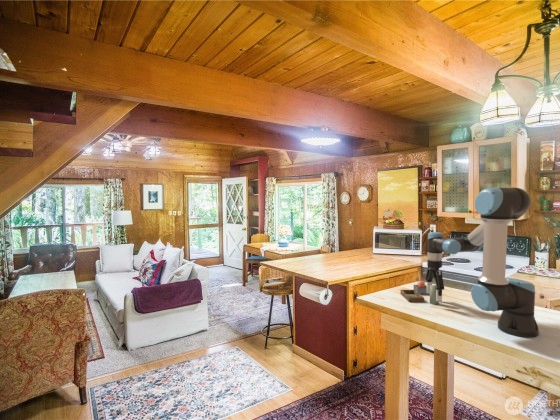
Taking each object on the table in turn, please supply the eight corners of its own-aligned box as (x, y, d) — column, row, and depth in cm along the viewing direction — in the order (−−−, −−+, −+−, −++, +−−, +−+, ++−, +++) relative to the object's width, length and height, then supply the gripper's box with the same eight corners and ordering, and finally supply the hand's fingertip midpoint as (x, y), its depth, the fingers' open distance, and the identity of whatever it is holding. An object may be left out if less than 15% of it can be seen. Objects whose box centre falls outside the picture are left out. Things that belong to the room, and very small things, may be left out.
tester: (429, 294, 202) (429, 288, 202) (417, 294, 203) (417, 287, 203) (424, 291, 209) (424, 284, 209) (413, 290, 210) (413, 284, 210)
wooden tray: (424, 302, 189) (424, 297, 188) (408, 302, 189) (408, 297, 189) (414, 293, 204) (414, 289, 204) (400, 293, 205) (400, 289, 205)
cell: (440, 304, 184) (440, 286, 183) (431, 304, 184) (431, 286, 183) (436, 302, 188) (436, 283, 188) (428, 302, 189) (428, 283, 188)
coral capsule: (425, 292, 204) (425, 282, 204) (419, 292, 204) (419, 282, 204) (423, 290, 208) (423, 281, 208) (416, 290, 208) (416, 280, 208)
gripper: (451, 265, 172) (450, 304, 174) (432, 255, 197) (431, 290, 198) (437, 264, 173) (436, 304, 174) (419, 255, 197) (419, 290, 199)
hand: (434, 297), depth 186 cm, fingers open, 13 cm apart
